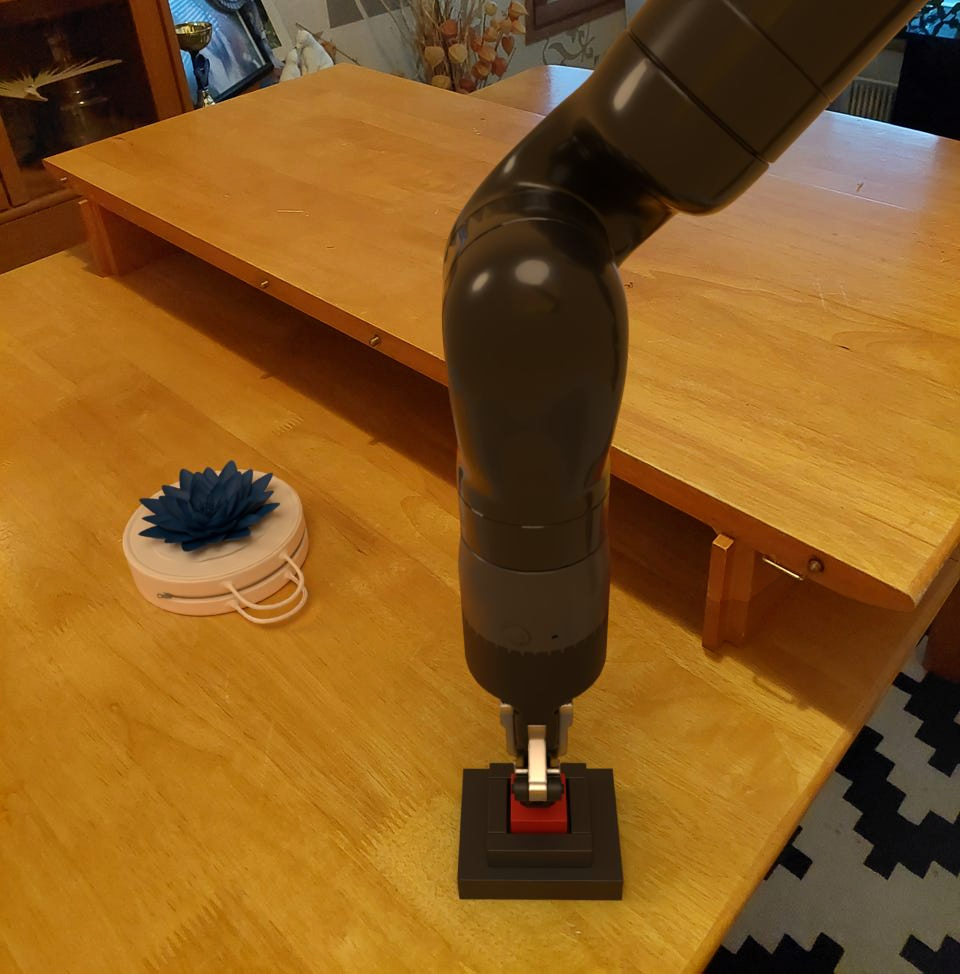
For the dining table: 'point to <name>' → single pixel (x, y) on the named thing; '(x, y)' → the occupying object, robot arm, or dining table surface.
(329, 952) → the dining table surface
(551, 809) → the red button cap
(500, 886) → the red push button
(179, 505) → the lotus flower trinket box
